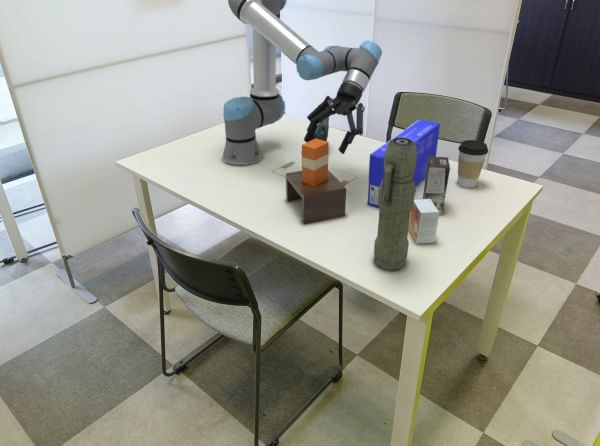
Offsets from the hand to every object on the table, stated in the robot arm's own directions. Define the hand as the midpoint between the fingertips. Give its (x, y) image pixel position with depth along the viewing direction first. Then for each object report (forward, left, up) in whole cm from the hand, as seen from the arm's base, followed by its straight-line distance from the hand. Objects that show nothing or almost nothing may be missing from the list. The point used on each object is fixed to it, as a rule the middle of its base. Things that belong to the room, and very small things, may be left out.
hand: (323, 146), depth 150 cm
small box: (+29, +20, -20) cm, 41 cm away
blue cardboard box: (-2, +32, -20) cm, 38 cm away
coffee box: (+15, +33, -20) cm, 41 cm away
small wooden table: (+2, -3, -20) cm, 21 cm away
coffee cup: (+5, +54, -20) cm, 58 cm away
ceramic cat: (-39, +15, -20) cm, 46 cm away
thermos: (+37, +5, -20) cm, 43 cm away
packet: (+2, -3, -10) cm, 11 cm away
